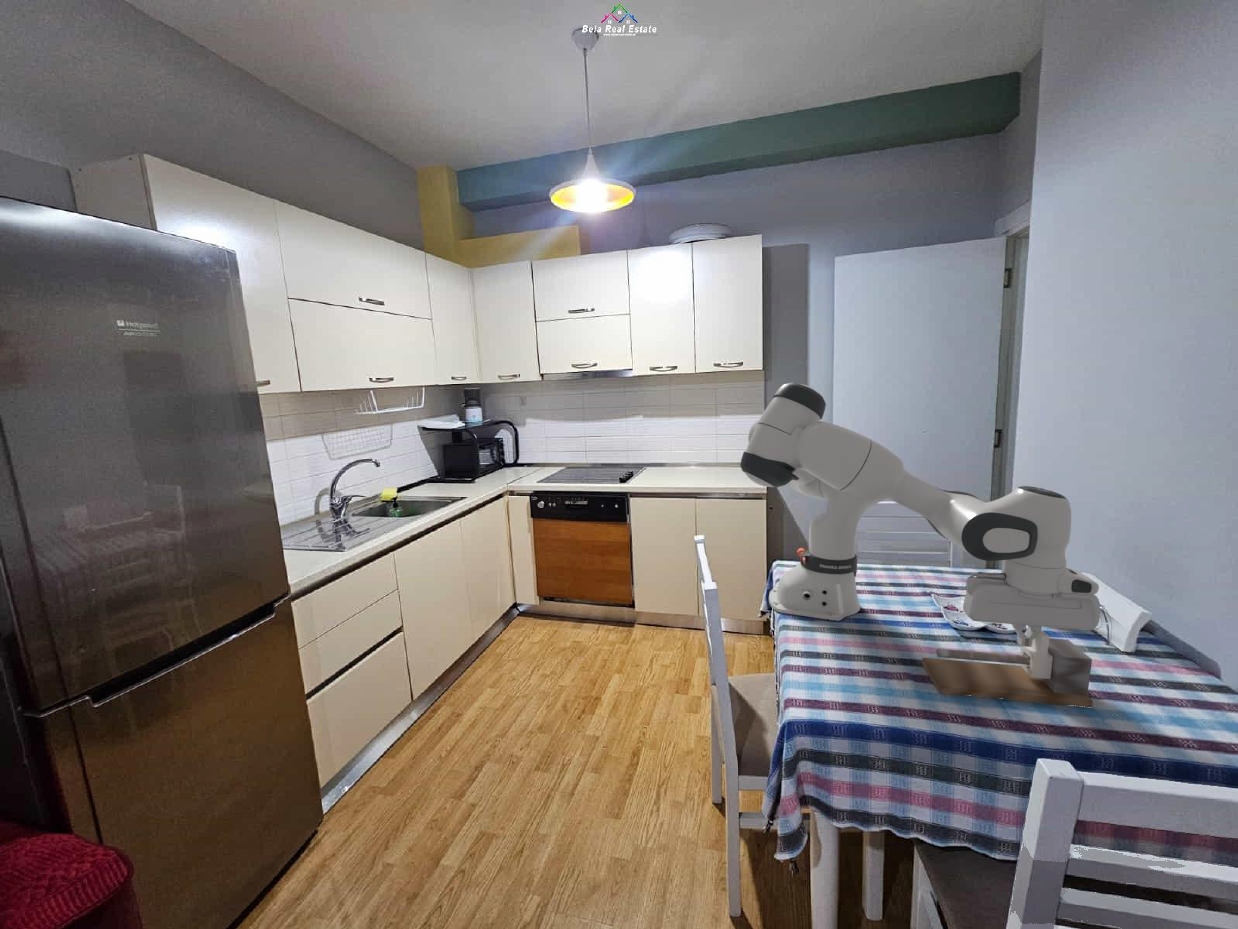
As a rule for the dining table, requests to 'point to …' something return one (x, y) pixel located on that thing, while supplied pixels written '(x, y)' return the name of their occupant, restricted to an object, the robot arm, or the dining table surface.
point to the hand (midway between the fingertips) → (1024, 645)
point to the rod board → (1014, 675)
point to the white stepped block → (1038, 657)
